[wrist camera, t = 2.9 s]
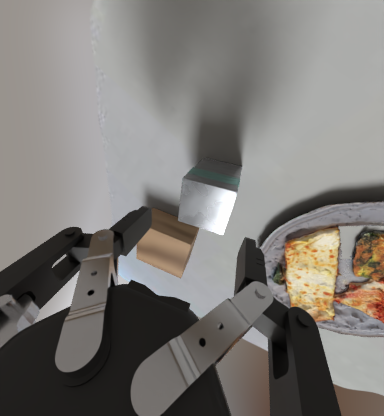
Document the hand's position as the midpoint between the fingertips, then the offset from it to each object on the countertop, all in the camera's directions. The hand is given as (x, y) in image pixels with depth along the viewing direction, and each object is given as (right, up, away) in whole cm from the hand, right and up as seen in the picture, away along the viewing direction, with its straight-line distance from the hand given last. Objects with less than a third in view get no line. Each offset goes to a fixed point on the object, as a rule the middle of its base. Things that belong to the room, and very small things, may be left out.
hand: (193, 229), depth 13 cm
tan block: (-4, -3, +17) cm, 18 cm away
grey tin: (+4, +6, +9) cm, 11 cm away
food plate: (+22, -7, +10) cm, 25 cm away
